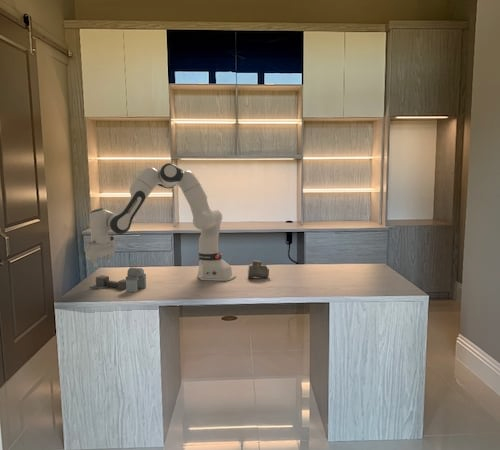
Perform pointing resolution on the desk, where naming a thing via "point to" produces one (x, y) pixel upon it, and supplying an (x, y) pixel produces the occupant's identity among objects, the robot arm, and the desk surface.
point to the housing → (135, 279)
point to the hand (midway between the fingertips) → (101, 264)
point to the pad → (98, 286)
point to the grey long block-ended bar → (110, 282)
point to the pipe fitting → (258, 270)
